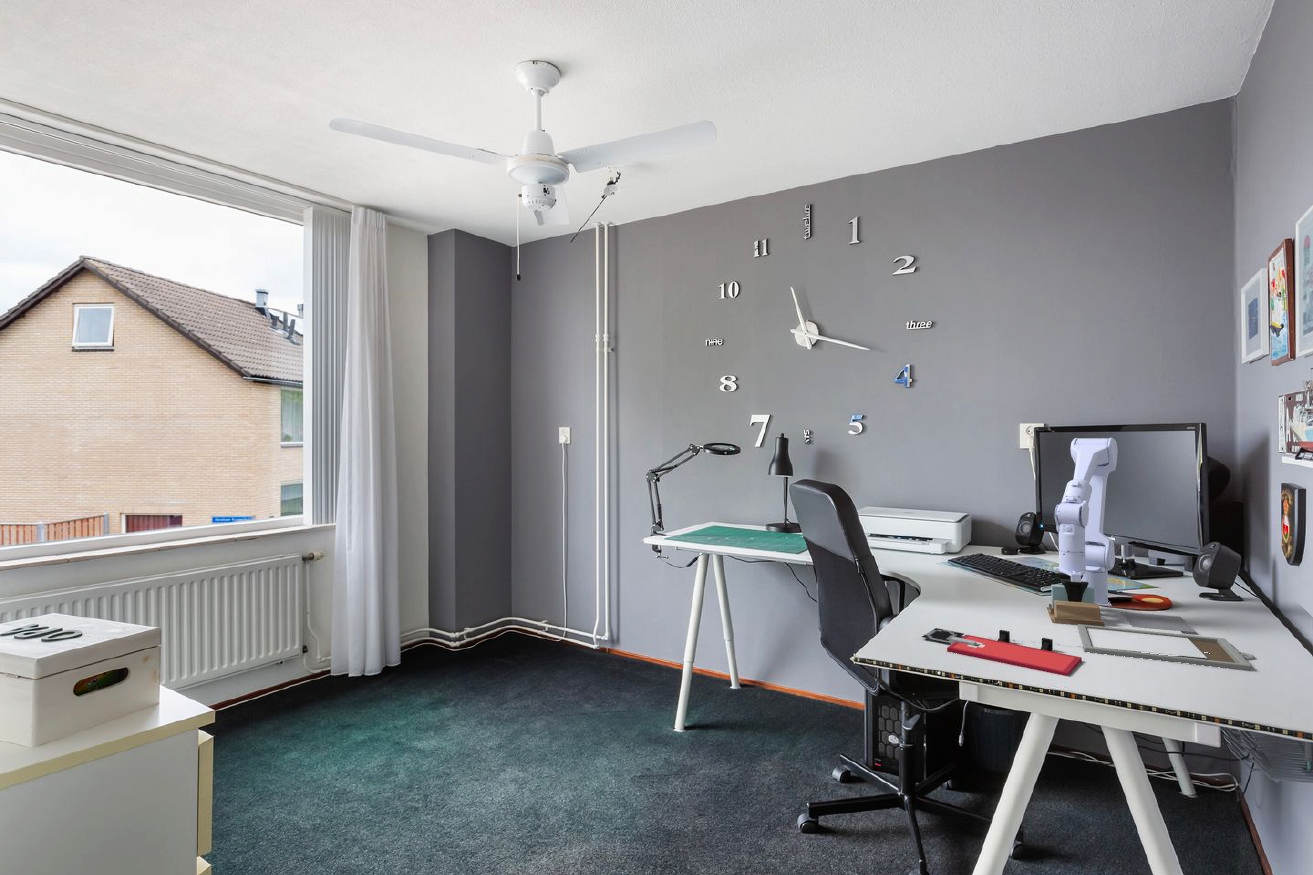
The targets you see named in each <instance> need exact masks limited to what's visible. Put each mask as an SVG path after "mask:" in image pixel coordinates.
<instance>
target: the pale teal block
mask: <svg viewBox="0 0 1313 875" xmlns="http://www.w3.org/2000/svg"><path fill="white" fill-rule="evenodd" d="M1054 600H1056V601H1068V598H1067V593H1066V590H1065V587H1064V585H1062V584H1051V604H1052V608H1054ZM1082 603H1094V588H1093V587H1087V588H1086V589H1085V592H1084V594H1083V598H1082Z"/></svg>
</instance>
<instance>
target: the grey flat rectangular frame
mask: <svg viewBox="0 0 1313 875" xmlns="http://www.w3.org/2000/svg"><path fill="white" fill-rule="evenodd" d="M1076 626H1077V630H1078V634H1079V637H1080V640H1081V644H1082V646H1083V647H1082V650H1083V652H1084V653H1087V652H1090V653H1089V654H1095V653H1097V654H1098V655H1104V654H1107V655H1108V656H1114V655H1115V656H1114V657H1122V656H1123V657H1122V658H1130V657H1133V658H1132V659H1139V658H1143V659H1142V660H1148V659H1152V660H1151V661H1157V660H1161V661H1160V662H1165V661H1168V662H1167V663H1174V662H1181V663H1180V664H1183V663H1189V664H1188V665H1192V664H1196V665H1195V666H1201V665H1204V667H1209V666H1212V667H1211V668H1218V667H1220V669H1221V668H1222V669H1227V668H1228V670H1235V671H1236V670H1237V671H1245V672H1252V671H1253V668H1252V665H1251V664H1250V663H1249V662H1248V661H1254V660H1255V659H1256V656H1254V655H1253V654H1251V653H1247V652H1242V651H1239V649H1236V648H1235V647H1234V646H1233V645H1232V644H1231V643H1230V642H1229V641H1228V639H1226V638H1225V637H1212V636H1202V635H1195V634H1184V633H1181V634H1180V633H1173V632H1164V631H1163V632H1160V631H1154V630H1153V631H1151V630H1141V629H1131V628H1122V627H1120V628H1119V627H1112V626H1111V627H1110V626H1109V627H1108V626H1106V627H1102V626H1092V625H1081V624H1078V625H1076ZM1087 629H1089V630H1090V629H1092V630H1103V631H1112V632H1121V633H1132V634H1139V635H1151V636H1161V637H1170V638H1171V637H1173V638H1181V639H1187V640H1189V642H1191V644H1192V645H1193V646H1195V647H1196V648H1197V649H1198V650H1199V652H1200V653H1202V654H1203V655H1204V657H1200V656H1188V655H1179V656H1168V655H1159V654H1160V653H1159V654H1150V653H1151V652H1149V653H1141V652H1142V651H1135V650H1128V649H1127V650H1126V649H1116V648H1104V647H1098V646H1097V647H1095V646H1093V645H1092V643H1091V639H1090V637H1089V634H1088V631H1087ZM1204 652H1208V653H1204ZM1209 653H1210V654H1209ZM1107 655H1106V656H1107ZM1124 656H1125V657H1124Z"/></svg>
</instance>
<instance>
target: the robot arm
mask: <svg viewBox="0 0 1313 875" xmlns="http://www.w3.org/2000/svg"><path fill="white" fill-rule="evenodd" d="M1070 443H1071V444H1070V456H1071V458H1072V460H1073V462H1074V465H1075V466H1074V467H1075V469H1074V474H1073V479H1072V480H1070V481H1068V482H1067V483H1066V486H1065V491H1064V494H1063V497H1062V498H1061V499H1062V500H1061V502H1060V503H1059V504H1056V506H1055V509H1054V521H1055V524H1056V525H1055V526H1056V532H1057V533H1058V566H1053V570H1054V571H1056V572H1057V576H1058V577H1059V579H1060V581H1061V582H1060V583H1061V585H1064V587H1065V590H1066V593H1067V598H1068V601H1069V602H1082V598H1083V594H1084V592H1085V589H1086V588H1087V587H1093V588H1094V603H1095V604H1098V605H1099V606H1106V607H1112V604H1111V601H1109V599H1108V598H1109V592H1108V591H1109V589H1108V588H1109V585H1108V584H1109V583H1108V581H1109V580H1108V579H1109V578H1108V577H1109V576H1108V575H1109V574H1108V571H1111V570H1112V569H1113V568H1114V566H1115V562H1116V552H1115V544H1114V542H1113V540H1112V539H1111V538H1110V537H1108V536H1107V535H1105V533H1104V521H1105V508H1106V498H1107V497H1106V496H1107V485H1108V484H1107V481H1108V477H1109V474H1110V473H1112V472H1114V471H1116V467H1117V464H1118V463H1117V462H1118V454H1119V453H1118V450H1119V449H1118V444H1117V443H1118V442H1117V440H1116V439H1115V438H1114V437H1108V438H1106V437H1105V438H1103V437H1102V438H1097V437H1096V438H1079V437H1075V438H1073V439H1072V441H1071V442H1070ZM1108 601H1109V602H1108Z"/></svg>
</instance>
